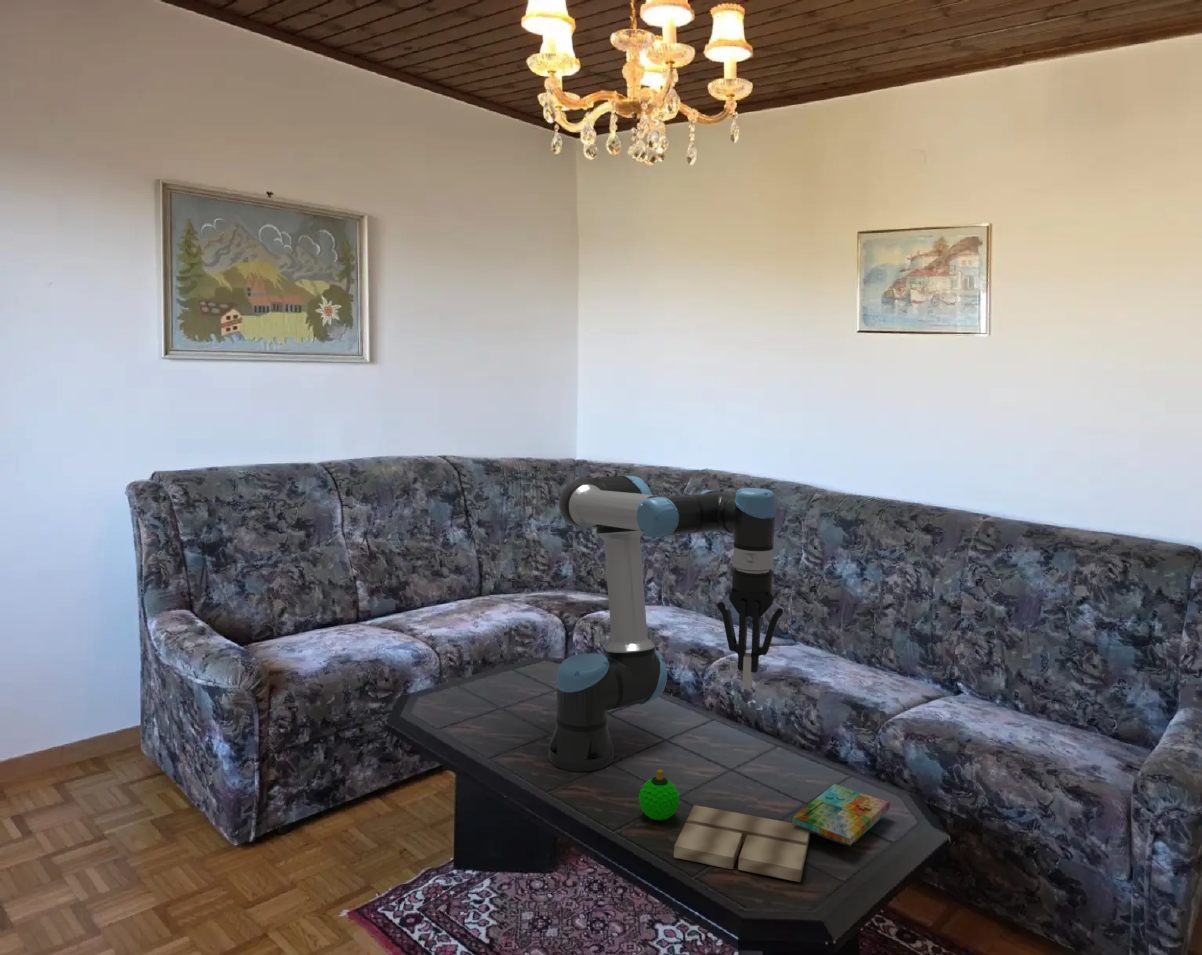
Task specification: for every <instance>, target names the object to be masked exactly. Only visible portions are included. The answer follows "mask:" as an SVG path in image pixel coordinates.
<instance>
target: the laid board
mask: <svg viewBox="0 0 1202 955" xmlns="http://www.w3.org/2000/svg"><path fill="white" fill-rule="evenodd" d="M685 823H690V824H695V825H700V826H706V827H711V828H716V829H721V830H726V831H732V832H737V833H742V844H741V845H742V846H743V845H744V842H745V839H746V836H747V835H752V836H758V837H763V838H768V839H773V840H778V841H783V842H789V843H794V844H799V845H804V846H806V854H807V853H808V847H809V843H810V838H811V832H810V830H808V829H806V828H803V827H800V826H798V825H795V824H793V823H792V822H788V821H783V820H778V819H777V820H776V819H770V818H768V817H767V818H766V817H762V816H755V815H750V814H744V813H739V812H735V811H729V810H723V809H719V808H712V807H708V806H701V805H695V804H694V805H693V806H692V808H691V810H690V813H689V815H688V817H687V819H686V820H685Z"/></svg>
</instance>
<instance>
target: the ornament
mask: <svg viewBox="0 0 1202 955" xmlns="http://www.w3.org/2000/svg"><path fill="white" fill-rule="evenodd" d="M663 775H664V770H663V769H657V770H656V776H654V777H652V778H650V779H648V780H647V781H645V782H644V784H643V785H642V786H641V788H640V790H639V793H638V795H639V796H638V802H639V805H640V809H641V811H642V812H643V813H644V814H645V816H648V818H650V819H653V820H655V821H664V820H668V819H669V818H670V817H672V816H674V814H675V813H676V812H677V809H678V807H679V804H680V795H679V791H678V789H677V786H676V785H675V784H674V783H673V782H672V781H671V780H669V779H667V778H666V777H664V776H663Z"/></svg>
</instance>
